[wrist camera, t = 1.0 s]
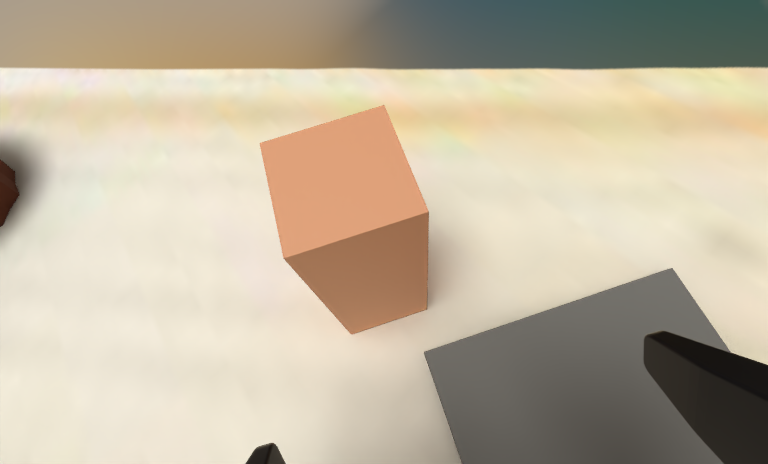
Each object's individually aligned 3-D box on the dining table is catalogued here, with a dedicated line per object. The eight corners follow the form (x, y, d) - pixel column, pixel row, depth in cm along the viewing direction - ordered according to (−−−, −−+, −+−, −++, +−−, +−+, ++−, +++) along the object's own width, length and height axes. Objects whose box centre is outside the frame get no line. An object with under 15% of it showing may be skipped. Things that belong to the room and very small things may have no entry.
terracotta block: (426, 309, 25) (428, 211, 13) (351, 334, 24) (283, 258, 13) (401, 241, 27) (384, 104, 15) (332, 263, 27) (259, 143, 15)
